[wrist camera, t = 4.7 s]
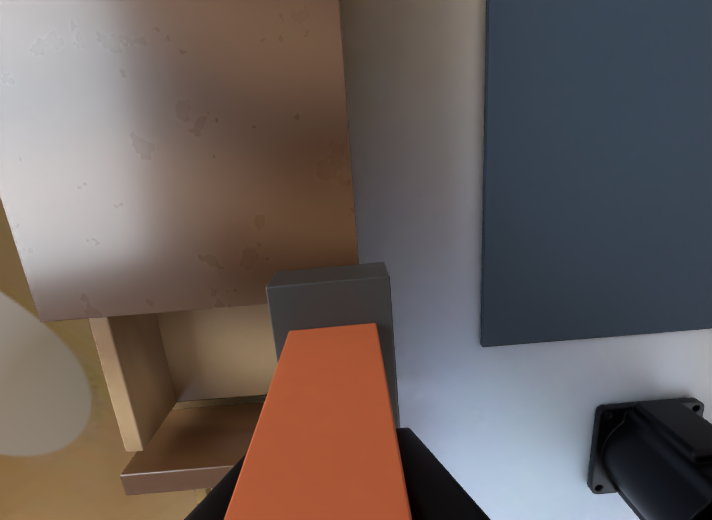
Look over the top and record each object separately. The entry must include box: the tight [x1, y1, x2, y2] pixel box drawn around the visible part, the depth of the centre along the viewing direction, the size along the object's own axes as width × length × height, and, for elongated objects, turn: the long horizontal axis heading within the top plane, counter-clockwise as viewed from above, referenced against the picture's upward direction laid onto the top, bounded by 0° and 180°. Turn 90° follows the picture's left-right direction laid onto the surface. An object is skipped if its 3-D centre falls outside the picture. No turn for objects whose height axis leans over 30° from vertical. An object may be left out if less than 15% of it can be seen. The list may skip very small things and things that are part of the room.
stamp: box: [224, 262, 412, 520], centre depth 8 cm, size 6×4×10 cm, turn 5°
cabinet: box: [0, 0, 359, 322], centre depth 15 cm, size 14×12×6 cm
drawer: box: [88, 304, 278, 504], centre depth 18 cm, size 18×11×5 cm, turn 4°
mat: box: [480, 0, 712, 347], centre depth 19 cm, size 22×15×1 cm
